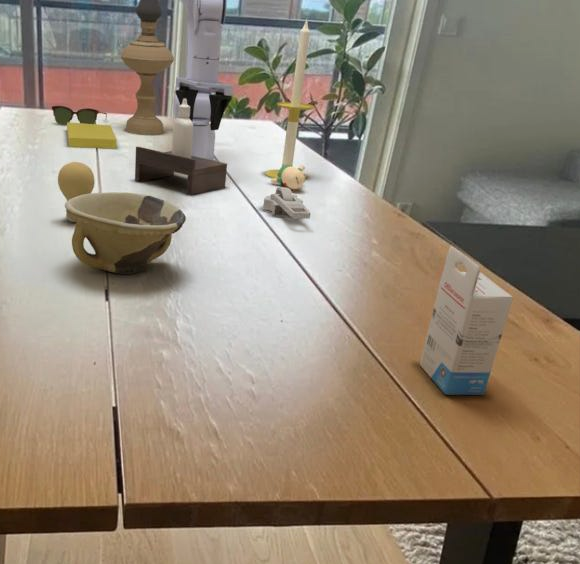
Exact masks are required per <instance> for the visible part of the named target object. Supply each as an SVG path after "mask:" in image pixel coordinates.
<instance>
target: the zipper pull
mask: <svg viewBox="0 0 580 564" xmlns="http://www.w3.org/2000/svg"><path fill="white" fill-rule="evenodd" d="M262 211H263V212H267V213H271V217H277V218H292V219H293V218H294V219H310V218H311V214H312V213H311V211H310V210H309V209H308V208H307V207H306V206H305V205H304V200H303V199H301V198H298V194H293V192H292V189H290V188H289V187H285V186H284V187H283V186H282V187H280V186H278V187H276V189H275V192H274V193H271V194H270V195H267V196H265V197H264V198H263V206H262Z"/></svg>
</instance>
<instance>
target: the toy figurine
mask: <svg viewBox="0 0 580 564" xmlns="http://www.w3.org/2000/svg"><path fill="white" fill-rule="evenodd" d="M305 169H306V167H305V165H303V164H302V165H300V166H299V167H295V166H293V165H292V166H291V165H284V166H282V165H281V167H280V168H279V169H278V170H279V172H278V178H271V179H270V183H271V184H272V185H275V184H279V183H282V185H283V186H284V187H285V188H289V189H290V190H291V191H295V190H298V189H300V188H301V187H303V185H304V183H305V179H304V174H305V173H304V172H303V171H305Z"/></svg>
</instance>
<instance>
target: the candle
mask: <svg viewBox="0 0 580 564" xmlns="http://www.w3.org/2000/svg"><path fill="white" fill-rule="evenodd" d="M310 35H311V31H310V29H309V23H308V19H305V22H304V24H303V26H302V28H301V30H300V31H299V37H298V38H299V39H298V45H297V54H296V60H295V61H296V62H295V67H294V75H293V83H292V92H291V93H292V94H291V100H290V101H279V102H277V103H276V106H277V107H279V108H282V109H287V110H288V116H287V123H286V131H285V139H284V146H283V154H282V163H281V167H282V166H284V165H291V166H293V164H294V157H295V150H296V142H297V137H298V127H299V120H300V113H301V111H310V110H313V109H314V107H315V106H314V105H312V104H309V103H302V102H301V101H302V95H303V94H302V93H303V86H304V79H305V78H304V77H305V72H306V71H305V70H306V64H307V56H308V50H309V41H310ZM279 170H280V169H268V170H266V171H265V172H264V175H265V176H266V177H268V178H271V179H273V178H278V172H279ZM303 174H304V180H306V179H307V177H308V176H307V174H305V173H303Z"/></svg>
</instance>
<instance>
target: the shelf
mask: <svg viewBox="0 0 580 564" xmlns="http://www.w3.org/2000/svg"><path fill="white" fill-rule="evenodd" d="M134 163H135V164H134V165H135V167H134V181H135V182H138V183H139V182H145V181H150V180H154V179H161V178H166V177H170V176H174V175H175V173H178V174H181V175H186V176H187V183H186V195H189V196H194V195H199V194H203V193H208V192H212V191H217V190H221V189H225V188H226V182H227V181H226V179H227V169H228V163H226V162H222V161H217V160H216V161H213V160H208V159H204V158H199V157H195V156H191V158H187V157H182V156H178V155H173V154H172V150H171V151H170V150H169V151H160V150H157V149H156V150H155V149H151V148H147V147H142V146H135V162H134Z"/></svg>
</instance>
